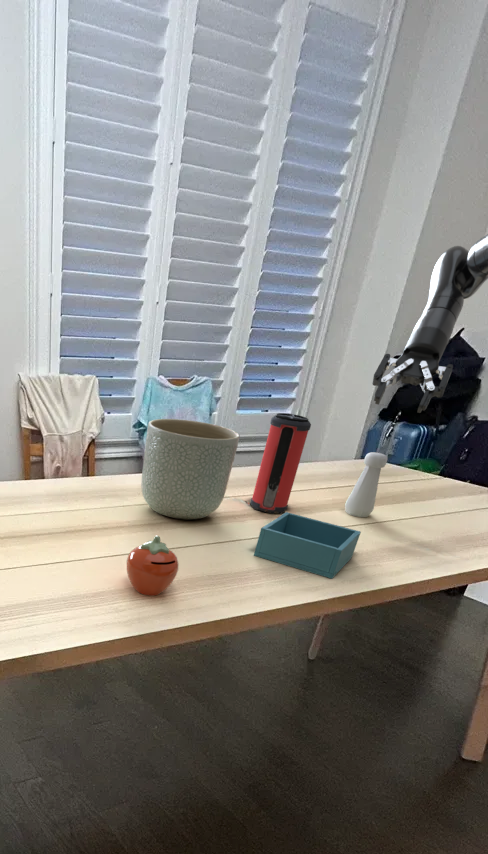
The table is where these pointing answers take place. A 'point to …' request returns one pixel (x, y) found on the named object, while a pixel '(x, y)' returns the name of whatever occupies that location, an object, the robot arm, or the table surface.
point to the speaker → (280, 462)
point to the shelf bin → (307, 544)
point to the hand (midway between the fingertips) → (398, 405)
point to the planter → (187, 467)
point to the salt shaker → (366, 486)
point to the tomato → (152, 567)
